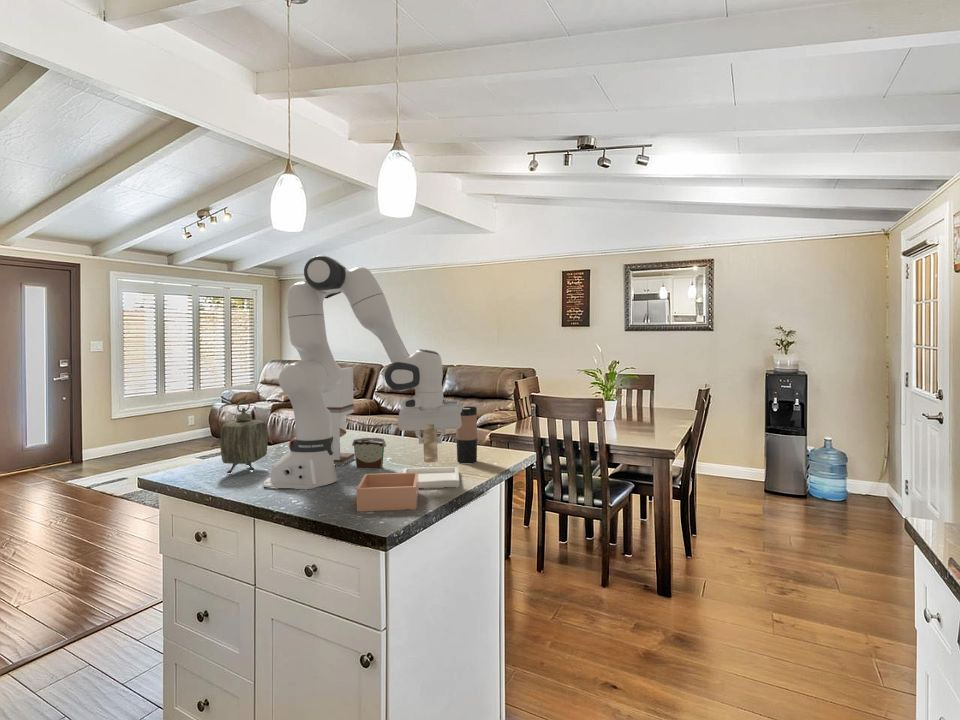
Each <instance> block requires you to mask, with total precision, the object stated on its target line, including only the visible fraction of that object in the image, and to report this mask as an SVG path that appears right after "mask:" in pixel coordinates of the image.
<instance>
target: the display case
mask: <svg viewBox="0 0 960 720" xmlns="http://www.w3.org/2000/svg"><path fill="white" fill-rule="evenodd" d="M341 369H342V373H343V378H342V381H341V383H340V384H339V385H338V386H337V387H336V388H334V389H333V390H331V391H329V392H324V393H322V396H323V400H324V403H325V406H326V408H327V409H329V411H330V412H331V426H332V436H333V441H334V452H333V460H334V464H335V465H334V466H336V465H343V464H344V465H346V464H347V463H346V462H348V461H350V460H351V461H353V460H355V459H354V458H355V452H354V453H353V452H352V453H351V452H341V438H342V437H343V436H345V435H346V434H347V416H348V415H350V414H352V413H353V414H354V413H355V411H354V406H355V405H354V403H355V402H354V367H353V366H352V367H350V366H349V367H344V368H342V367H341ZM352 459H353V460H352ZM351 461H350V462H351ZM345 463H346V464H345ZM348 463H349V462H348ZM344 465H343V466H344Z"/></svg>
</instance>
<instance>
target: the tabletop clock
mask: <svg viewBox="0 0 960 720" xmlns="http://www.w3.org/2000/svg"><path fill="white" fill-rule="evenodd" d="M242 403H247V405H248V407H247V408H245V407H243V408H242V409H240V405H241V404H242ZM250 407H251V405H250V401H249V400H248V399H241V400H240V401H239V402H238V403H237V406H236V409H237V411H238V412H239V414H237V416H236V417H235V419H233V420H231V421H228V422H226V423H224V424H223V425H222V426H221V428H220V429H221V430H220V445H219V446H220V457H221V460H222V463H223V464H228V465H229V464H232V466H231V468H230V470H227V472H226V474H227V473H231V472H232V473H233V470H234V469H235V467H236V466H237V465H245V466H246V465H249V466H250V467H249V469H248V471H249V470H254V471H255V468H254V467H252V466H253V465H252V463H255V462H257V461H258V460H260V459H262V458H264V457H265V456H266V455H267V453H268V428H267V423H265V422H264V420H261V419H253V417H252V415H251V414H250V413H248V410H250Z"/></svg>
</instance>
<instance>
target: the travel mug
mask: <svg viewBox="0 0 960 720" xmlns="http://www.w3.org/2000/svg"><path fill="white" fill-rule="evenodd" d="M477 414H478V413H477V407H476V406H467V405H466V406H463V407H462V412H461V413H460V415H461V423H462V426H461V427H460V428H459V429H455V430H456V438H455V441H456V459H457V463H458V462H459V464H461V463H472V464H475V462H476V463H477V462H478V461H477V460H478V458H477V457H478V421H477V420H478V418H477V417H478V415H477Z"/></svg>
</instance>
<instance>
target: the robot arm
mask: <svg viewBox="0 0 960 720" xmlns="http://www.w3.org/2000/svg"><path fill="white" fill-rule="evenodd" d="M303 268H304V269H303V276H304V279H305V280H304V281H299V282H296V283H294V284H292V285H290V287H289V288H288V291H287V299H286V301H287V302H286V303H287V306H286V309H287V312H286V313H287V322H288V324H287V325H288V330H289V342H290V344H291V345H292V346H293V347H294V349H296V351H297V352H298V355H299V357H300V360H298V361H297V360H296V361H295V362H292V363H289V364H288V365H285V366H284V367H282V369H281V371H280V372H279V375H278V383H279V387H280V389H281V390H282V392H284V393H285V394H286V396H287V398H289V401H290V404H291V406H292V410H293V414H294V426H295V427H294V428H295V429H294V430H295V437H294V436H293V438H291V439H290V441H289V443H288V447H289V451H288V452H286V453H285V454H284V455H283V456H281V457H280V458H279V459H278V460H277V461H276V462H275V463H274V464H273V465H272V468H271V471H270V477H268V478H266V479H265V480H264V481H263V482H262V483H263V484H262V486H264V487H275V488H274V489H278V488H295V489H294V490H312V489H314V488H317V487H322V486H327V485H329V484H333V483H336V482H337V481H338V479H339V478H338V475H337V471H336V467H335V466H336V465H334V460H333V452H334V441H333V436H332V426H331V412H330V411H329V409H327V408H326V406H325V403H324V400H323V396H322V393H324V392H329V391H331V390H333V389H334V388H336V387H337V386H338V385H339V384H340V383H341V381H342V378H343V373H342V369H341V368H342V367H341V366H340V365H339V363H337V361H336V360H335V358H334V356H333V353H332V350H331V347H330V345H329V342H328V337H327V330H326V322H325V313H324V312H325V311H324V300H325V299H330V298H332V297H334V296H336V295H339V294H342V293H343V294H344V296H345V297H346V299H347V301H348V302H349V305H350V307H351V309H352V312H353V314H354V316H355V317H356V319H357V320H358V322H359V324H360V325H361V326H362V327H363V328H364V329H366V330H368V331H369V332H371V333H372V334H373V335H374V336H375V337H377V338H378V339H379V341H380V343H381V344H382V346H383V348H384V350H385V352H386V354H387V356H388V359H389V360H390V363H391V364H389V365H388V366H387V367H386V369H385V372H384V381H385V383H386V385H387V386H388V387H389V388H390V389H391V390H394V391H398V392H403V391H407V390H412V389H414V391H415V394H414V395H412V396H409V397H407V398H404V399H402V400H401V409H400V410H399V414H398V418H397V428H398V430H399V431H404V432H405V431H414V433H415V436H416V438H417V439H418V445H424V442H423V441H424V439H423V437H422V436H421V435H420V433H421V431H423V430H425V429H426V425H430V424H434V429H435V430H437V431H438V430H440V433H441V434H440V435H439V436H437V445H438V444H443V443H442V441H443V440H442V439H443V437H444V435H445V434H446V430H456V429H459V428H460V427H461V426H462V423H461V415H460V413H461V412H462V408H463V404H462V402H461V401H459V400H458V399H444V388H443V378H444V376H443V375H444V374H443V373H444V372H443V371H444V370H443V361H442V357H441V355H440V354H439V353H438V352H437V351H435V350H429V349H421V348H420V349H417V350H416V351H415V352H413V353H411V354H409V353H408V351H407V349H406V347H405V345H404V342H403V341H402V339H401V337H400V335H399V332H398V330H397V328H396V325H395V321H394V319H393V316H392V313H391V310H390V306H389V304H388V301H387V298H386V296H385V294H384V292H383V289H382V287H381V286H380V284H379V283H378V281H377V279H376V278H375V276H374V275H373V273H372V272H371V271H370V269H368V268H367V267H363V266H362V267H360V266H359V267H353V268H351V269H347V267H345V266H344V265H343V264H342V263H340V262H339V260H337V259H334V258H331V257H330V256H327V255H317V256H316V255H315V256H312V257H311V258H310V259H308V260H307V262H306V263H305V265H304V266H303ZM264 487H263V488H264Z"/></svg>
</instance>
